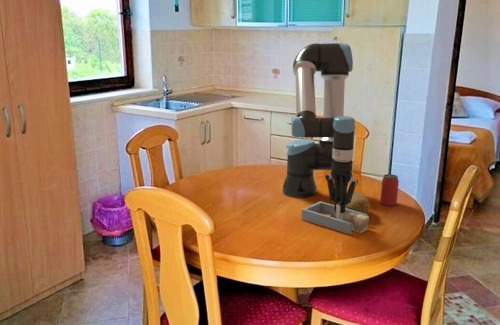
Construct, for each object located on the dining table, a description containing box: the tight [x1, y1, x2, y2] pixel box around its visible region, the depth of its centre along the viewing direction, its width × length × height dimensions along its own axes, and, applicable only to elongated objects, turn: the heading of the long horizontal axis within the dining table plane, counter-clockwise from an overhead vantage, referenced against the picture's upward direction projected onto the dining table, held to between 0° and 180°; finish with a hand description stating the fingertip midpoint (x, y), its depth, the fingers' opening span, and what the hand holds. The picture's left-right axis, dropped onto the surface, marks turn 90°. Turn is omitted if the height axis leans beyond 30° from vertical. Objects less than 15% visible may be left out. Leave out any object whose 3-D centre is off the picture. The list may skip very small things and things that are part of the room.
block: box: [344, 212, 370, 234], centre depth 181 cm, size 5×5×7 cm
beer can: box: [380, 173, 399, 207], centre depth 205 cm, size 7×7×12 cm
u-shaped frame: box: [301, 200, 369, 235], centre depth 187 cm, size 21×12×4 cm, turn 48°
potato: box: [345, 191, 371, 214], centre depth 195 cm, size 10×14×8 cm
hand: (339, 220), depth 186 cm, fingers closed
